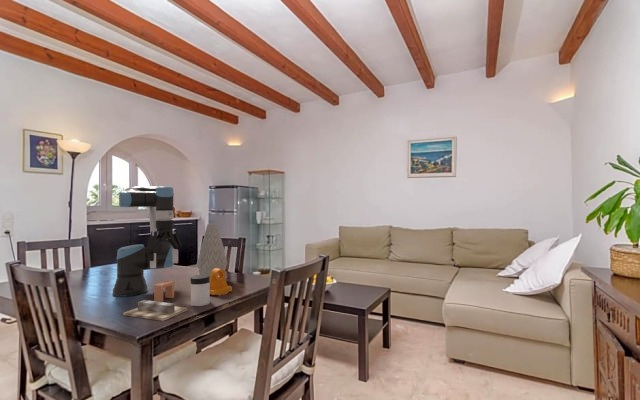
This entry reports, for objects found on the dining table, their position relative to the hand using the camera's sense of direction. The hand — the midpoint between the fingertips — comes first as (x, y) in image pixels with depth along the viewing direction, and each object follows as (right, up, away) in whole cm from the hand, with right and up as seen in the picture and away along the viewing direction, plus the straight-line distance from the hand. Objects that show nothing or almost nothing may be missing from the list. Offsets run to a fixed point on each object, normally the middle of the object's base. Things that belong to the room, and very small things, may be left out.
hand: (164, 265), depth 154 cm
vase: (+11, -16, +34) cm, 39 cm away
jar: (+19, -16, -6) cm, 25 cm away
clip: (0, -16, 0) cm, 16 cm away
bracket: (+22, -16, +11) cm, 29 cm away
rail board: (+5, -16, -19) cm, 25 cm away
